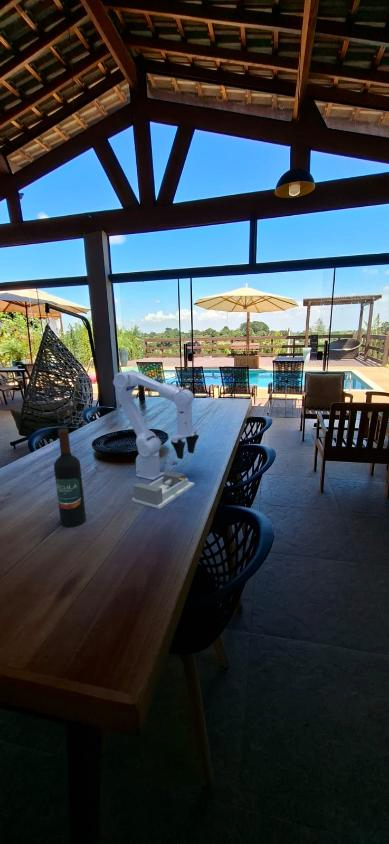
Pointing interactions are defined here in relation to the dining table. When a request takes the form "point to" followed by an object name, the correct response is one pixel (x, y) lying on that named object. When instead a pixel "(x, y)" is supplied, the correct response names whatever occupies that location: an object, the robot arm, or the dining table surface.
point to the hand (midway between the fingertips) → (185, 455)
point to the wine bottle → (69, 484)
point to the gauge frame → (159, 492)
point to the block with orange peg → (172, 478)
